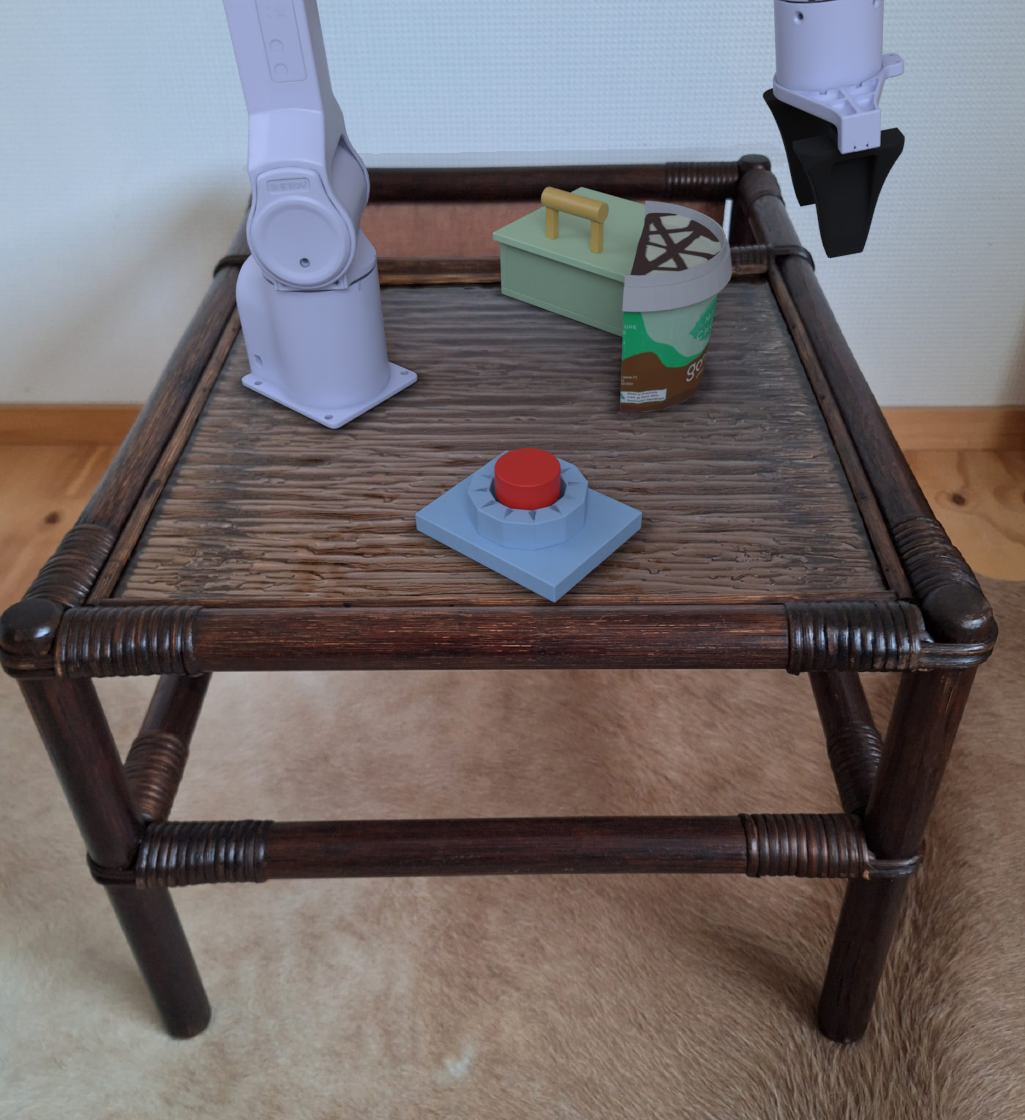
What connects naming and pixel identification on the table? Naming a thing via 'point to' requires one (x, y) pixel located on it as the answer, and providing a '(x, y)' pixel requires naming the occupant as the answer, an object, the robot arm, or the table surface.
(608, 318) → the chest
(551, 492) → the button
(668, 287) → the food container
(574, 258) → the lid
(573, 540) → the switch block
